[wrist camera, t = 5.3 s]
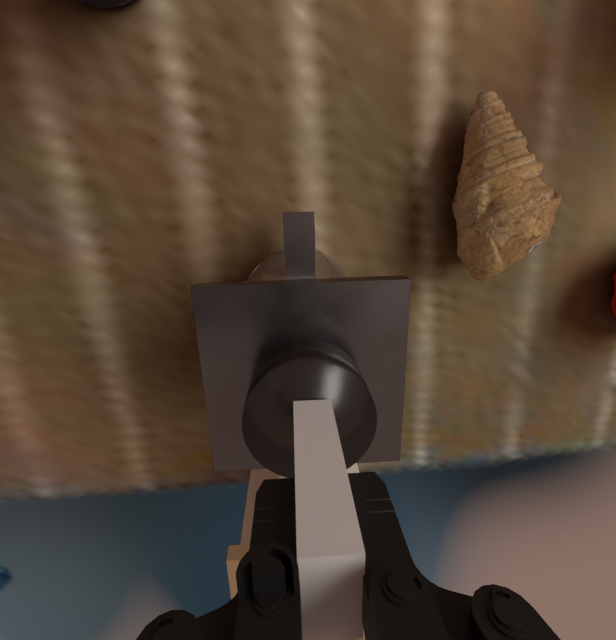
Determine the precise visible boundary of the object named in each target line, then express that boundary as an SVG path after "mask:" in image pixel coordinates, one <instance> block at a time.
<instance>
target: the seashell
mask: <svg viewBox="0 0 616 640" xmlns="http://www.w3.org/2000/svg"><path fill="white" fill-rule="evenodd" d="M466 130H467V133H466V135H465V144H464V156H463V161H462V165H461V169H460V171H459V174H458V177H457V182H458V185H457V190H456V193H455V197H454V199H453V202H452V213H453V215H454V218H455V219H456V223H457V225H456V226H457V235H458V236H457V244H458V249H457V255H458V256H459V258H460V259H461V261H462V263H463V264H464V266H465V267H466V269H467V271H468V272H469V273H470V274H471V276H472V277H474V278H475V279H478V280H480V281H482V280H485V279H488V278H491V277H494V276H496V275H498V274H499V273H501V272H503V271H504V270H505V269H506V268H507V267H509V266H511V265H513V264H515V263H516V262H518V261H519V260H520V259H522V258H523V257H525V256H526V255H528V254H529V253H530V252H531V251H532V250H533V249H534V248H535V247H537V246H538V245H539V244H540V243H541V242H542V241H543V240H544V239H545V238H546V237H547V236H548V235H549V233H550V231H551V227H552V225H553V224H554V223H555V213H556V211H557V209H558V205H559V204H560V202H561V198H562V197H561V195H559V194H558V193H555V192H554V188H553V187H552V186H550V185H547V184H545V183H544V182H542V181H541V180H540V179H539V177H538V176H539V175H540V173H541V171H542V169H543V163H542V162H539V161H537V160H536V158H535V154H531V153H529V151H528V150H527V148H526V146H527V140H526V137H523V135H522V132H521V131H520V130H518V129H517V128H516V127H515V126H514V120H513V118H512V117H511V113H510V112H507V111H506V110H505V104H504V103H503V102H502V100H499V98H498V95H497V94H496V93H495V92H493V91H485V92H481V93H479V95H478V96H477V99H476V101H475V103H474V104H473V108H472V109H471V114H470V116H469V119H468V124H467V127H466Z"/></svg>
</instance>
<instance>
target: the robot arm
mask: <svg viewBox="0 0 616 640" xmlns="http://www.w3.org/2000/svg"><path fill="white" fill-rule="evenodd" d="M293 415H294V458H295V478H281V479H264V480H263V482H262V484H261V485H260V487H259V489H258V490H257V492H256V497H255V506H254V514H253V523H252V531H251V540H250V548H249V551H248V552H247V553H246V554H245V555H244V556H243V558H242V559H241V560H240V561H239V564H238V567H237V570H236V582H237V590H238V593H237V594H236V595H235V596H234V597H233V598H232V599H231V600H230V601H229V602H228V603H227V604H225V605H223V606H222V607H220V608H218V609H217V610H214V611H212V612H209V613H207V614H205V615H203V616H200V617H198V618H195V616H194V615H193V614H191V613H189V612H187V611H185V610H171V611H169V612H166V613H164V614H161V615H159V616H158V617H157V618H155V619H154V620H153V621H152V622H150V623H149V624H148V625H147V626H146V627H145V628H144V630H143V631H142V632H141V634H140V635H139V636H138V638H137V639H136V640H349V639H361V638H363V629H364V635H365V640H560V639H559V638H558V636H557V635H556V634H555V633H554V632H553V631H552V629H551V628H550V627H549V626H548V625H547V623H546V622H545V621H544V620H543V619H542V618H541V616H540V615H539V614H538V613H537V612H536V610H535V609H534V608H533V607H532V606H531V605H530V604H529V603H528V602H527V601H526V600H524V598H522V597H521V596H520V595H519V594H517V593H515V592H513V591H512V590H510V589H508V588H506V587H502V586H498V585H484V586H482V587H480V588H479V589H478V590H476V591H475V593H474V595H473V597H471V596H468V595H464V594H460V593H457V592H453V591H449V590H446V589H443V588H441V587H438V586H436V585H435V584H433V583H431V582H430V581H429V580H428V579H426V578H425V577H424V576H423V575H422V574H421V573H420V571H419V570H418V569H417V568H416V566H415V564H414V562H413V560H412V558H411V556H410V552H409V550H408V547H407V544H406V541H405V538H404V536H403V533H402V530H401V527H400V524H399V522H398V519H397V516H396V513H395V512H394V507H393V505H392V502H391V500H390V496H389V493H388V491H387V488H386V485H385V483H384V482H383V481H382V480H381V479H380V477H379V476H378V475H377V474H376V473H375V472H362V473H347V469H346V465H345V460H344V456H343V451H342V447H341V442H340V438H339V434H338V429H337V425H336V420H335V416H334V411H333V407H332V402H331V399H325V400H306V401H293Z"/></svg>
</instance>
